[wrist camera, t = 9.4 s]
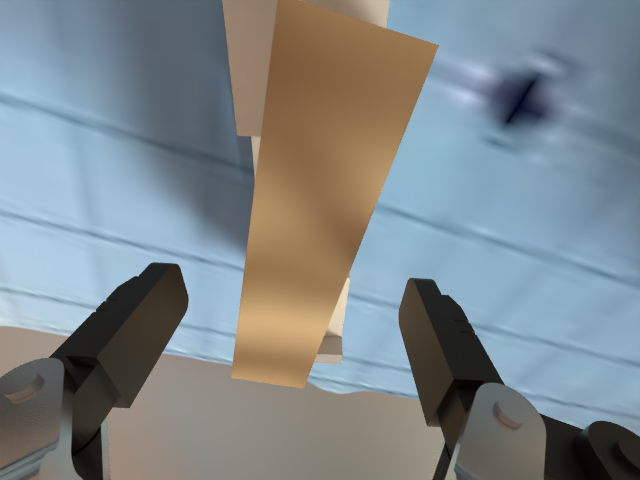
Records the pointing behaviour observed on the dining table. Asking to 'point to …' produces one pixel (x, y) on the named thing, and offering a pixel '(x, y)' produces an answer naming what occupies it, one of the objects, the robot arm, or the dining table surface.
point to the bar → (318, 177)
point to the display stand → (250, 92)
